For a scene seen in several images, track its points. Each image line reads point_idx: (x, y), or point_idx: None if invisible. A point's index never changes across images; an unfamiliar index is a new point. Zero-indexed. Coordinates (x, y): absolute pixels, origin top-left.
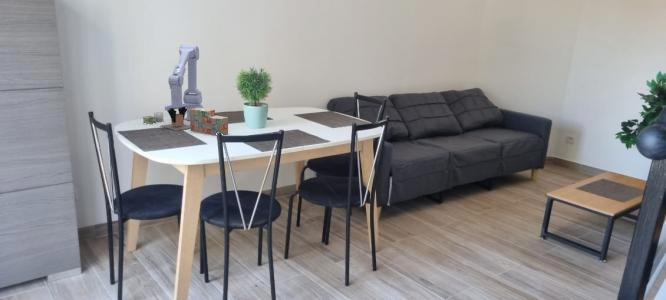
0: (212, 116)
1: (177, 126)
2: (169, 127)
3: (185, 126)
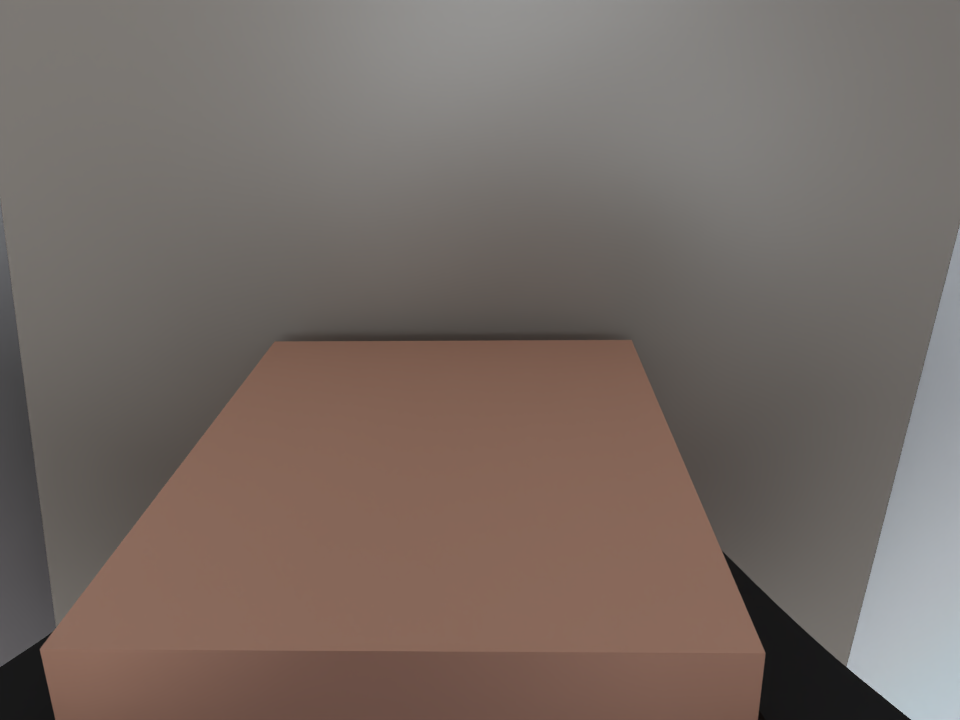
0: None
1: None
2: (96, 458)
3: None
